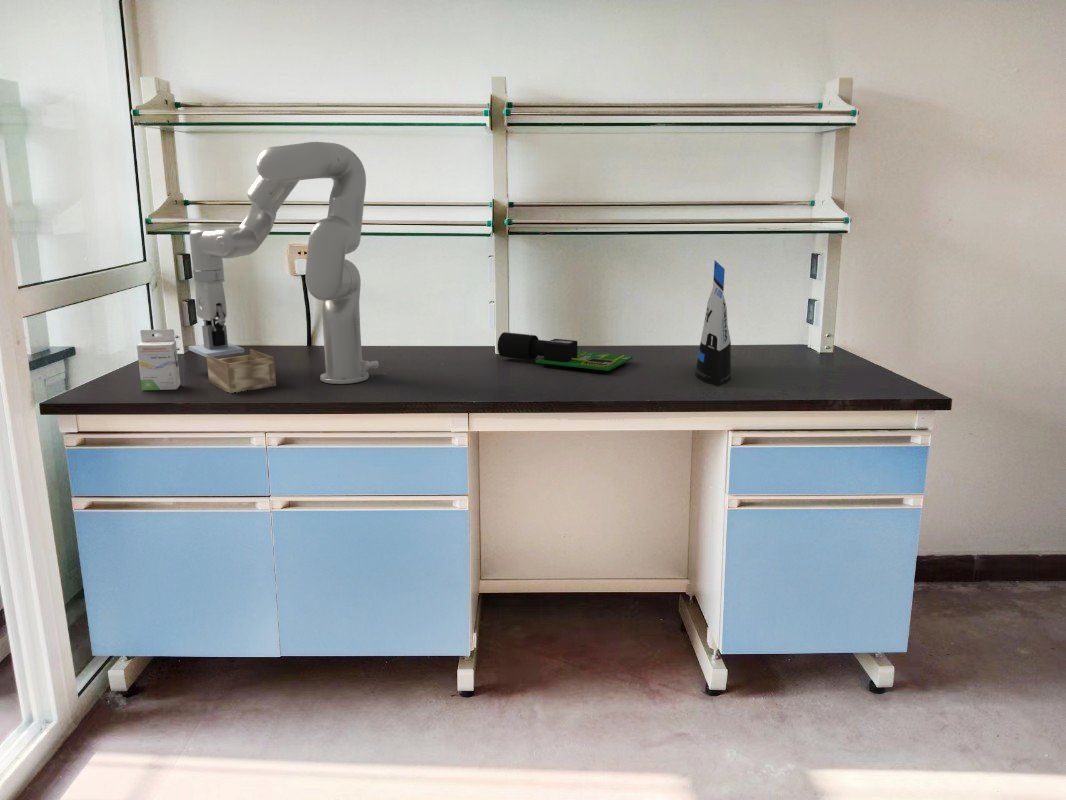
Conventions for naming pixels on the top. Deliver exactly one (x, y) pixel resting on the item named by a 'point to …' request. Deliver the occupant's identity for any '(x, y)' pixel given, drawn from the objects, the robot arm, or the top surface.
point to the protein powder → (715, 336)
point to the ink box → (158, 360)
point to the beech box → (242, 372)
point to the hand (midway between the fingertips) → (215, 343)
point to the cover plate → (216, 351)
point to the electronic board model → (555, 352)
